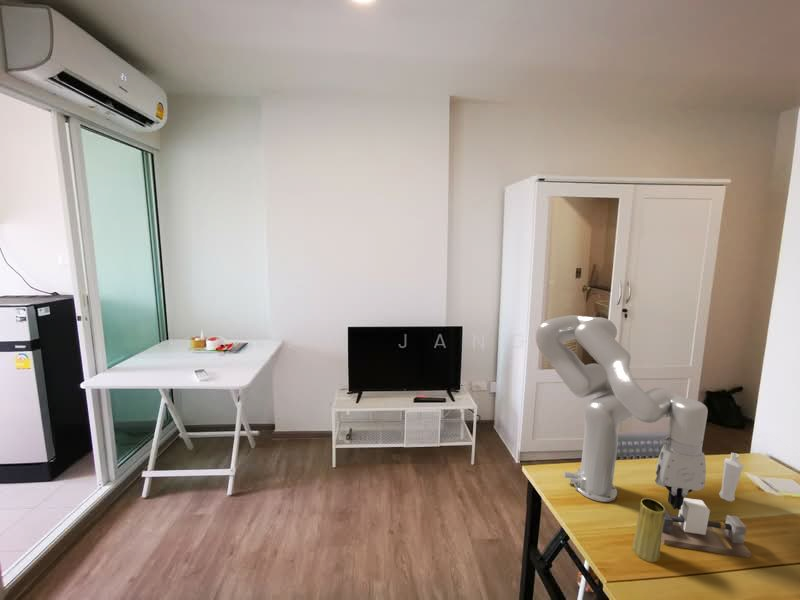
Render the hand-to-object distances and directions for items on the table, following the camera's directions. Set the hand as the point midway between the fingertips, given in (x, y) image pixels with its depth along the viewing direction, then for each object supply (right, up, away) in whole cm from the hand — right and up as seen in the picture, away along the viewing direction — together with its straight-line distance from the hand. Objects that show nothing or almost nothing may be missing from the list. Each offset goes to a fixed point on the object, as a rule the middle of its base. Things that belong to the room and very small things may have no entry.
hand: (674, 505), depth 106 cm
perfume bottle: (+28, -6, +16) cm, 33 cm away
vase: (-11, -10, -5) cm, 16 cm away
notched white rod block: (+5, -6, 0) cm, 8 cm away
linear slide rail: (+6, -9, +1) cm, 11 cm away
